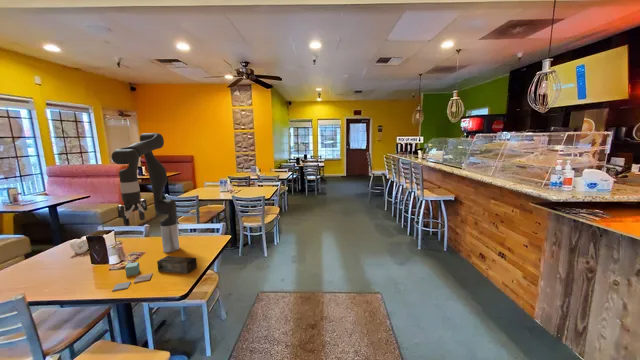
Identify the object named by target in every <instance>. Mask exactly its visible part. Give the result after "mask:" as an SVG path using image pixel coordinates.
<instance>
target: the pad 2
mask: <svg viewBox="0 0 640 360" xmlns="http://www.w3.org/2000/svg"><path fill="white" fill-rule="evenodd" d="M152 276H153V272H151V273H145V274H139V275H138V274H137V275H136V277H135V279H134V281H133V284H137V283H144V282H150V281H151V279H152Z"/></svg>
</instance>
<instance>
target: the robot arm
mask: <svg viewBox="0 0 640 360" xmlns="http://www.w3.org/2000/svg"><path fill="white" fill-rule="evenodd" d="M164 144H165V141H164V136H163V135H162V134H161V133H159V132H149V133H148V132H147V133H145V132H144V133H141V134H140V135H139V141H138V142H134V143H132V144H131V145H129V146H125V147H120V148H116V149H115V150H113V152H112V153H111V158H110V159H111V161H112V162H113V163H115V164H116V165H128V167H127V168H124V169H121V170H119V171H118V177H119V182H120V186H119V188H120V193H121V201H122V202H123V204H122V205H117V208H116V209H117V217H118V219H122V221H123V225H124V226H125V227H129V226H131V222H130V218H129V217H130V216H131V214H132V213H133V212H136V211H137V212H138V214H139V215H138V216H139V220H140V221H144V220H145V219H146V216H145V212H146V211H148V205H147V199H145V198H142V196H141V189H140V183H139V178H138V165H139V162H140V158H141V157H143V156H144V160H145V162H146V168H147V171H148V177H149V181H150V186H151V189H152V194H153V203H154V208H155V209H154V210H155V213H157V215H168V216H167V217H166V218H162V219H161V220H160V222H159V223H160V224H159V225H160V233H161V243H162V249H163V252H164V253H173V252H177V251H178V250H180V242H179V241H180V240H179V232H178V231H179V230H178V221H177V219H178V214H177V203H176V201H175V199H172V198H171V199H163V192H164V189H165V187H166V185H167V182H168V174H167V169H166V168H165V166H164V165H163V164H162V163H161V162H160V161H159V160H158V159H157V157H156V156H155V154H154V153H153V151H155V150H158V149H159V150H160V149H162V148H163V147H164Z"/></svg>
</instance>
